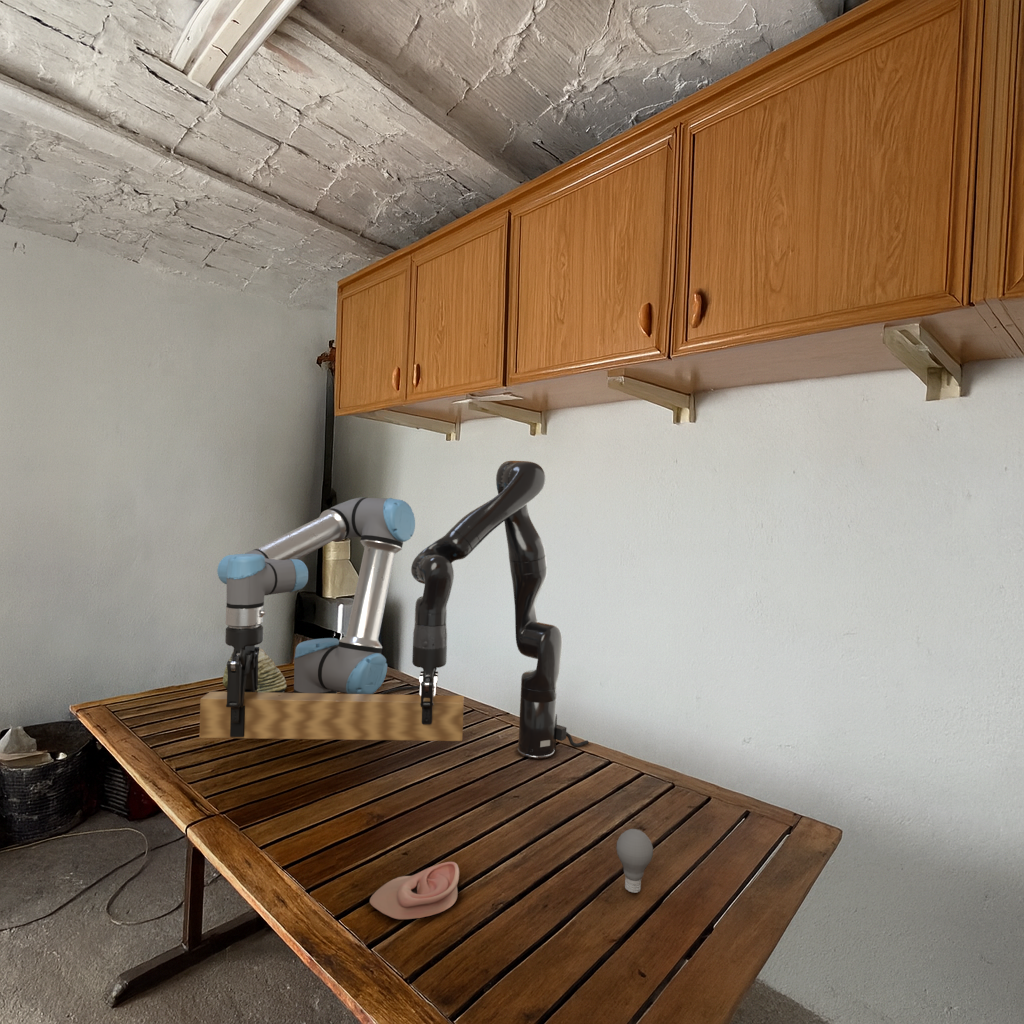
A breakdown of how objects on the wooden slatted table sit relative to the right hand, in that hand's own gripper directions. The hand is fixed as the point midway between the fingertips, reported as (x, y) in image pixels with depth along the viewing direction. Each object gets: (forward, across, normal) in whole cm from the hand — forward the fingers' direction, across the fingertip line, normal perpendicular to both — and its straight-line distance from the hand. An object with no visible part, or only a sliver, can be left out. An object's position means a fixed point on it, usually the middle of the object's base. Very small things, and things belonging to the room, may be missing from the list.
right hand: (427, 718), depth 141 cm
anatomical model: (+15, -40, -1) cm, 43 cm away
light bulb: (+15, -38, -37) cm, 55 cm away
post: (+4, 0, +20) cm, 21 cm away
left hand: (+3, 0, +40) cm, 40 cm away
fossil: (+15, +61, +58) cm, 85 cm away
